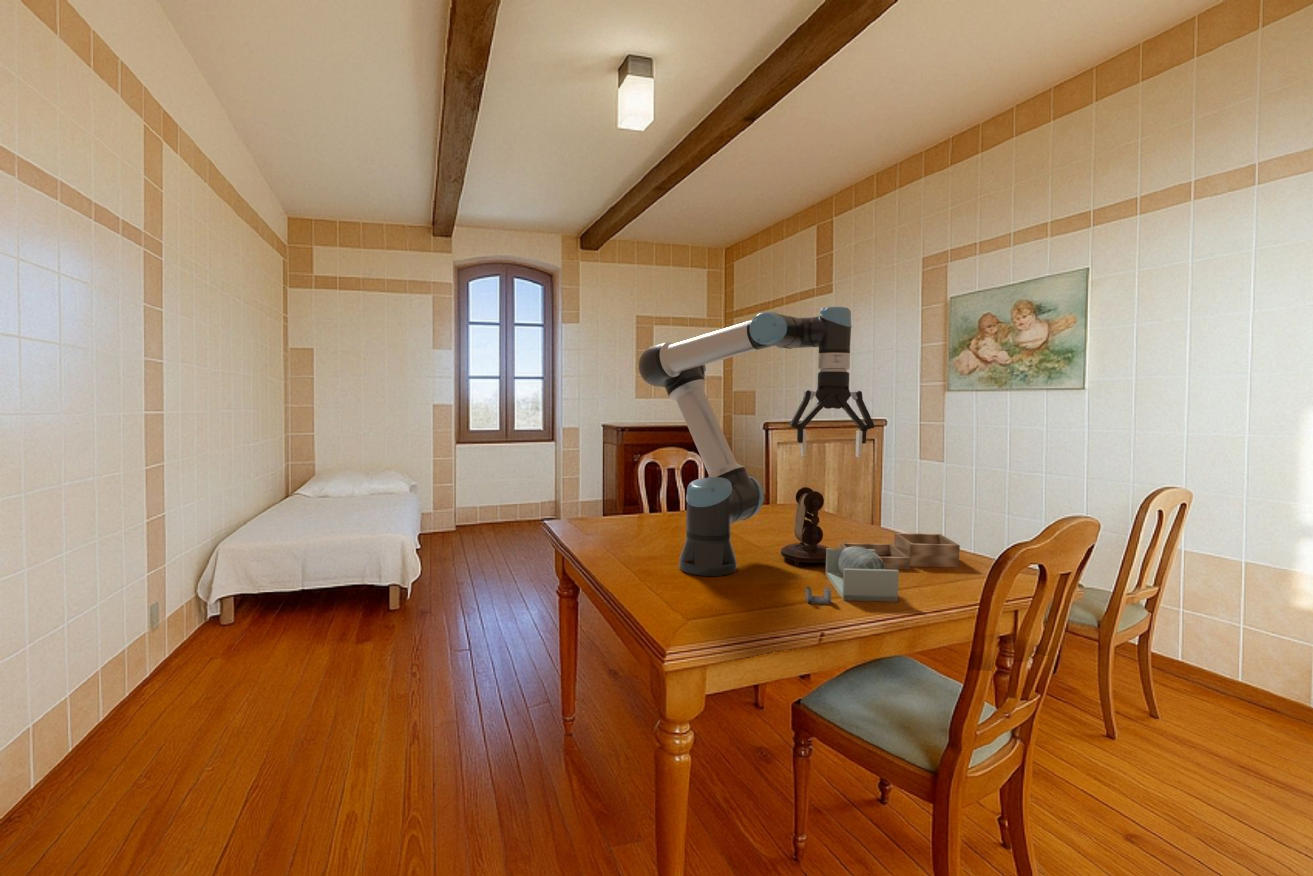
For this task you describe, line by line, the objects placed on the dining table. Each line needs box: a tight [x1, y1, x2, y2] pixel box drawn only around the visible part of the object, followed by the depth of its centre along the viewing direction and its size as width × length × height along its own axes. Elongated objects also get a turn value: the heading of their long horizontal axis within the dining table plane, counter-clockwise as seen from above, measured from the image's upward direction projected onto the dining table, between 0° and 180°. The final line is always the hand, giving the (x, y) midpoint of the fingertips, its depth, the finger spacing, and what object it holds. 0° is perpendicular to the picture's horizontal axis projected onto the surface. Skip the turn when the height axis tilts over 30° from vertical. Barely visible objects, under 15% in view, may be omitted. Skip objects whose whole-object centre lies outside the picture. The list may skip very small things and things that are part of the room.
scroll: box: [780, 486, 829, 567], centre depth 174 cm, size 15×15×20 cm
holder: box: [825, 547, 900, 603], centre depth 151 cm, size 12×19×7 cm, turn 177°
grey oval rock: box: [839, 546, 885, 575], centre depth 151 cm, size 14×10×10 cm
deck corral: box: [838, 542, 911, 570], centre depth 175 cm, size 15×15×3 cm
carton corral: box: [893, 532, 961, 568], centre depth 176 cm, size 13×13×6 cm
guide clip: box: [805, 585, 832, 605], centre depth 141 cm, size 5×3×3 cm, turn 87°
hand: (830, 456), depth 157 cm, fingers open, 13 cm apart
